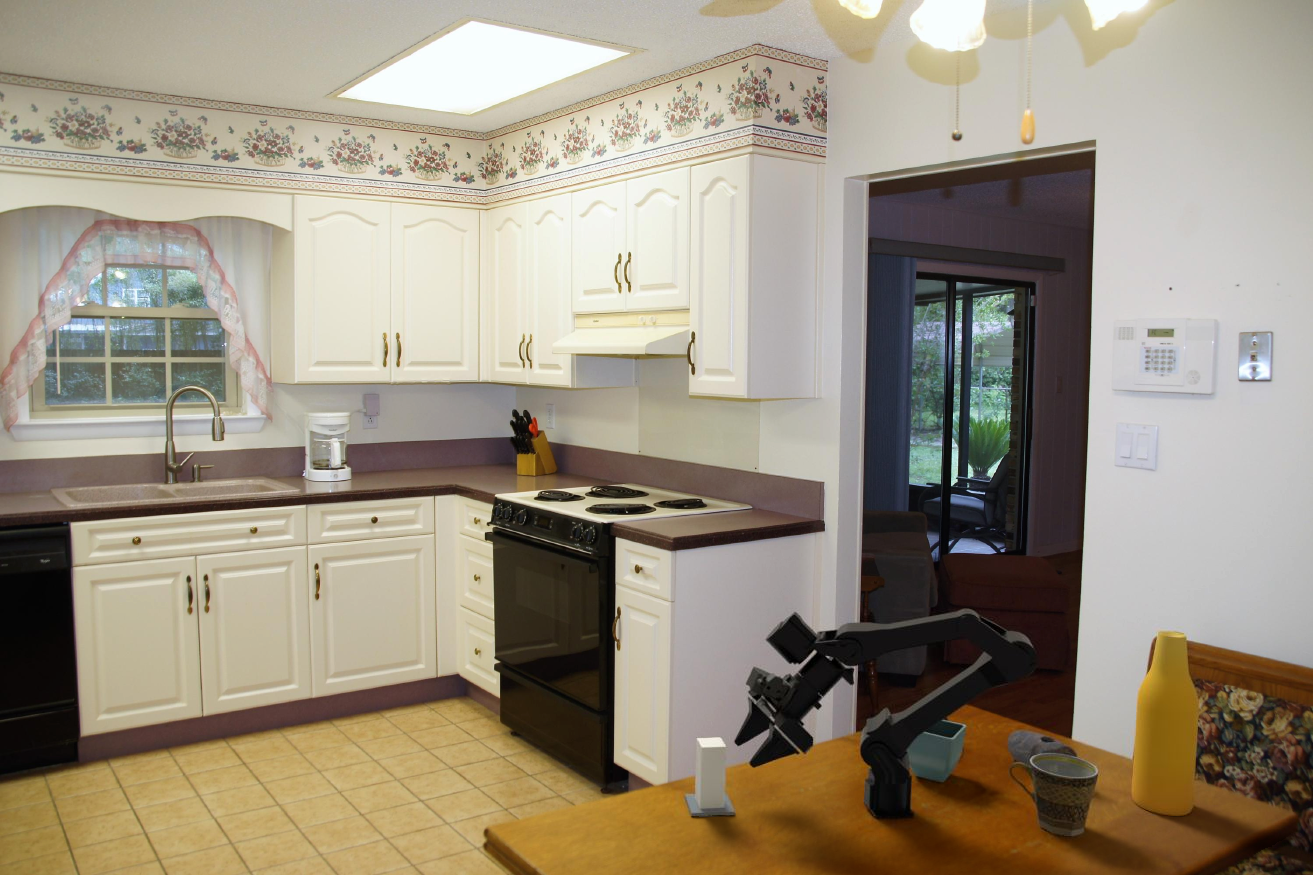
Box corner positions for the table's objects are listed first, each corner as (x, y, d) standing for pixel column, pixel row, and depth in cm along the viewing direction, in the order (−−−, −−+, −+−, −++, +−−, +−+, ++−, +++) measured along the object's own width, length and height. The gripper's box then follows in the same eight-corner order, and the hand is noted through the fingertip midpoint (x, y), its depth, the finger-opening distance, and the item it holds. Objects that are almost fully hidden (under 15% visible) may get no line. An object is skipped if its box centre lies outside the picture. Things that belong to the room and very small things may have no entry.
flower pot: (965, 773, 175) (967, 724, 175) (951, 790, 168) (953, 738, 167) (916, 761, 180) (918, 713, 180) (900, 777, 173) (903, 727, 172)
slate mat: (726, 796, 163) (726, 792, 163) (734, 815, 156) (734, 811, 156) (684, 797, 162) (684, 793, 162) (691, 816, 155) (691, 812, 155)
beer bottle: (1206, 813, 161) (1217, 639, 159) (1161, 819, 158) (1172, 643, 157) (1161, 790, 170) (1171, 625, 168) (1118, 796, 167) (1128, 628, 165)
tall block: (718, 796, 161) (720, 737, 161) (724, 807, 157) (726, 746, 157) (694, 797, 161) (696, 738, 160) (700, 808, 157) (701, 747, 156)
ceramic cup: (1091, 819, 158) (1095, 758, 158) (1098, 846, 149) (1101, 782, 148) (1006, 805, 162) (1009, 746, 162) (1007, 831, 153) (1010, 768, 152)
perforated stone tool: (997, 757, 184) (999, 720, 183) (1020, 754, 185) (1022, 718, 185) (1055, 789, 170) (1057, 750, 169) (1079, 785, 171) (1081, 746, 171)
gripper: (760, 636, 168) (696, 702, 167) (795, 668, 150) (723, 743, 149) (803, 680, 170) (740, 745, 169) (843, 716, 152) (772, 790, 151)
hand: (743, 754), depth 159 cm, fingers open, 9 cm apart
